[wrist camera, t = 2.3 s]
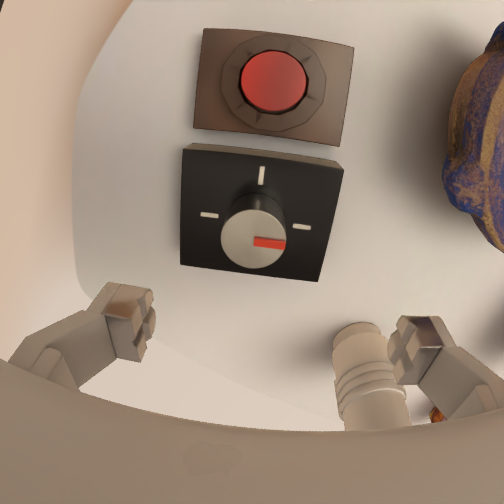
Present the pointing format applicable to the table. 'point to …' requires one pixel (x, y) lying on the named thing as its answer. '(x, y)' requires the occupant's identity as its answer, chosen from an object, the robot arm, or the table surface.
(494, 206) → the bowl
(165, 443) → the robot arm
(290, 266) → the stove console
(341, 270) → the table surface
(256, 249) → the knob
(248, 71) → the igniter button
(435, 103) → the table surface
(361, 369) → the beige ribbed cylinder
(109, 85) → the table surface
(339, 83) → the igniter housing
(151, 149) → the table surface
